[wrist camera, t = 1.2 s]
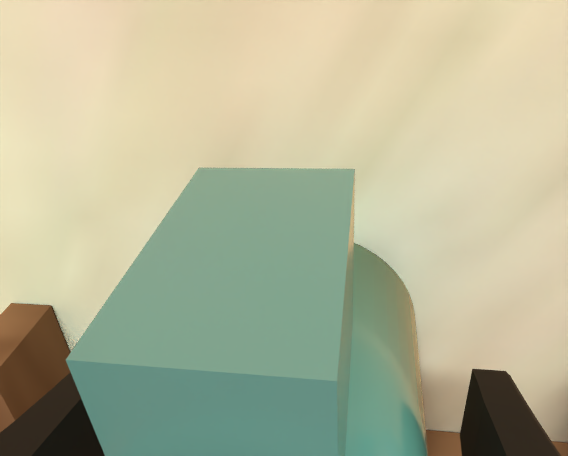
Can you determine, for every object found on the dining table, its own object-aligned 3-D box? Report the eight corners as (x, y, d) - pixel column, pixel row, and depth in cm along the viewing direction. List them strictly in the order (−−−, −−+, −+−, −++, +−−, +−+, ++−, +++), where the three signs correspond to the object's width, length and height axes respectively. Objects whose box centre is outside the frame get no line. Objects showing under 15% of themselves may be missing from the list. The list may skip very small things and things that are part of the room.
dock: (674, 342, 11) (743, 442, 9) (611, 475, 14) (653, 576, 12) (10, 303, 14) (-54, 373, 12) (64, 420, 16) (19, 494, 14)
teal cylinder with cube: (447, 111, 9) (634, 638, 3) (414, 403, 13) (452, 888, 7) (159, 114, 10) (-261, 506, 3) (214, 387, 14) (73, 800, 8)
